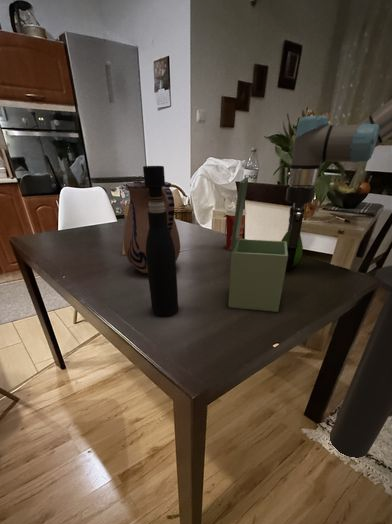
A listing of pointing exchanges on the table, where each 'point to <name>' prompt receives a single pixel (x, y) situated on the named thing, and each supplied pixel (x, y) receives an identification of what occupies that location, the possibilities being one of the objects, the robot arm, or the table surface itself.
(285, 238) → the avocado
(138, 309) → the table surface
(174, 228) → the ceramic pitcher
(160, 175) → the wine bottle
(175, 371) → the table surface
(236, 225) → the bin lid
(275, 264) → the bin
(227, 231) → the paper cup
